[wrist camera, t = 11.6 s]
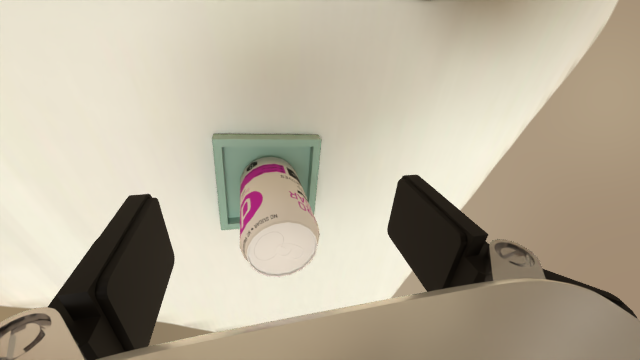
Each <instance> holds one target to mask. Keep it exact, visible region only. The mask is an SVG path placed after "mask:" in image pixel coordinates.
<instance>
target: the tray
mask: <svg viewBox="0 0 640 360" xmlns="http://www.w3.org/2000/svg"><path fill="white" fill-rule="evenodd" d="M212 142H213V153H214V163H215V173H216V183H217V193H218V203H219V214H220V224H221V230H230V229H240V179H241V175H242V173H243V171H244V169H245V168H246V167H247V166H248V165H249V164H250V163H251V162H253V161H255V160H258V159H260V158H263V157H276V158H280V159H283V160H285V161H286V162H288V163H289V164H291V166H292V167H293V168H294V170H295V171H296V173H297V176H298V178H299V181H300V183H301V185H302V188H303V190H304V193H305V195H306V198H307V200H308V202H309V205H310V207H311V210H312V212H313V215H314V210H315V200H316V190H317V180H318V170H319V160H320V150H321V138H320V137H319V136H318V135H304V134H213V138H212Z"/></svg>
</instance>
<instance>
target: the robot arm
mask: <svg viewBox="0 0 640 360" xmlns="http://www.w3.org/2000/svg"><path fill="white" fill-rule="evenodd" d="M387 230H388V235H389V237H390V238H391V240H392V241H393V243H394V244H395V246H396V247H397V248H398V250H399V251H400V253H401V254H402V256H403V257H404V259H405V260H406V262H407V263H408V264H409V266H410V267H411V269H412V270H413V272H414V273H415V275H416V276H417V277H418V279H419V280H420V282H421V283H422V285H423V286H424V288H425V289H426V290H427V292H424V293H419V294H413V295H408V296H402V297H397V298H391V299H386V300H381V301H375V302H370V303H365V304H360V305H354V306H349V307H344V308H339V309H333V310H328V311H323V312H318V313H312V314H307V315H302V316H297V317H292V318H287V319H281V320H276V321H271V322H266V323H261V324H256V325H251V326H246V327H241V328H236V329H231V330H226V331H220V332H215V333H210V334H206V335H200V336H196V337H191V338H187V339H182V340H177V341H172V342H167V343H163V344H158V345H153V346H149V347H148V345H149V342H150V339H151V336H152V333H153V329H154V326H155V323H156V320H157V317H158V314H159V310H160V307H161V304H162V301H163V298H164V294H165V291H166V288H167V285H168V282H169V278H170V275H171V272H172V269H173V266H174V252H173V249H172V246H171V242H170V239H169V235H168V232H167V229H166V225H165V222H164V218H163V215H162V212H161V208H160V205H159V202H158V199H157V198H152V197H151V195H150V194H143V195H131V196H129V197H128V198H127V199H126V201H125V202H124V203H123V205H122V206H121V207H120V209H119V210H118V212H117V213H116V214H115V216H114V217H113V219H112V220H111V221H110V223H109V224H108V226H107V227H106V228H105V230H104V231H103V233H102V234H101V235H100V237H99V238H98V239H97V240H96V241H95V242H94V244H93V245H92V246H91V248H90V249H89V251H88V252H87V253H86V255H85V256H84V257H83V259H82V260H81V262H80V263H79V264H78V266H77V267H76V269H75V270H74V271H73V273H72V274H71V275H70V277H69V278H68V280H67V281H66V282H65V284H64V285H63V287H62V288H61V289H60V291H59V292H58V293H57V295H56V296H55V298H54V299H53V300H52V302H51V303H50V305H49V306H48V307H43V308H34V309H31V310H27V311H24V312H21V313H19V314H16V315H14V316H12V317H10V318H8V319H6V320H4V321H2V322H1V323H0V360H640V321H639V320H638V319H637V317H636V315H635V314H634V313H633V311H632V310H631V309H630V308H628V307H627V306H626V305H625V304H624V303H623V302H622V301H621V300H620V299H619V298H617V297H616V296H614V295H612V294H611V293H609V292H606V291H603V290H600V289H597V288H595V287H592V286H589V285H586V284H583V283H581V282H578V281H575V280H572V279H570V278H567V277H564V276H561V275H558V274H555V273H553V272H550V271H547V270H544V269H542V266H541V264H540V261H539V259H538V258H537V257H536V256H535V255H534V254H533V253H532V252H531V251H530V250H528V249H527V248H525V247H523V246H522V245H520V244H517V243H514V242H512V241H508V240H500V239H497V240H493V241H492V242H491V243H490V244H488V243H487V242H486V238H487V236H488V234H487V233H486V232H485V231H484V230H482V229H481V228H480V227H479V226H478V225H476V224H475V223H474V222H473V221H472V220H470V219H469V218H468V217H467V216H466V215H465V214H463V213H462V212H461V211H460V210H459V209H458V208H456V207H455V206H454V205H453V204H452V203H450V202H449V201H448V200H447V199H446V198H445V197H443V196H442V195H441V194H440V193H439V192H437V191H436V190H435V189H434V188H433V187H431V186H430V185H429V184H428V183H427V182H426V181H424V180H423V179H422V178H421V177H420V176H418V175H405V176H403V177H402V178H401V179H400V180H399V181H398V184H397V189H396V193H395V197H394V202H393V206H392V211H391V215H390V220H389V224H388V229H387Z"/></svg>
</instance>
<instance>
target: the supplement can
mask: <svg viewBox="0 0 640 360" xmlns="http://www.w3.org/2000/svg"><path fill="white" fill-rule="evenodd" d="M319 235H320V234H319V229H318V224H317V222H316V219H315V217H314V215H313V212H312V210H311V207H310V205H309V202H308V200H307V198H306V195H305V193H304V190H303V188H302V185H301V183H300V181H299V178H298V176H297V173H296V171H295V170H294V168H293V167H292V166H291V164H289V163H288V162H286V161H285V160H283V159H280V158H276V157H263V158H260V159H258V160H255V161H253V162H251V163H250V164H249V165H248V166H247V167H246V168H245V169H244V171H243V173H242V175H241V179H240V249H241V251H242V254H243V256H244V258H245V259H246V260H247V261H248V262H249V264H250V266H251V267H252V268H253V269H254V270H255V271H257V272H258V273H260V274H263V275H266V276H273V277H281V276H286V275H291V274H293V273H295V272H297V271H300V270H302V269H303V268H304V267H305V266H306V265H308V264H309V263H310V262H311V260H312V259H313V257H314V256H315V254H316V250H317V246H318V245H317V244H318V240H319Z"/></svg>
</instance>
